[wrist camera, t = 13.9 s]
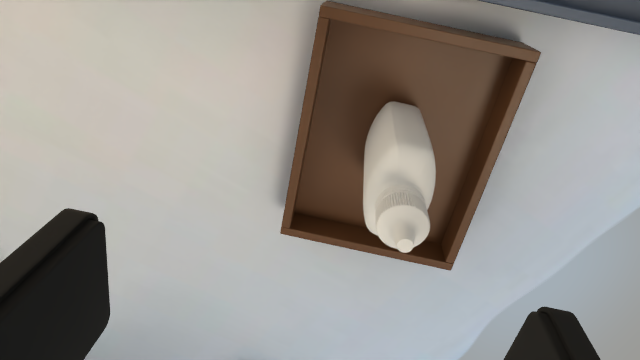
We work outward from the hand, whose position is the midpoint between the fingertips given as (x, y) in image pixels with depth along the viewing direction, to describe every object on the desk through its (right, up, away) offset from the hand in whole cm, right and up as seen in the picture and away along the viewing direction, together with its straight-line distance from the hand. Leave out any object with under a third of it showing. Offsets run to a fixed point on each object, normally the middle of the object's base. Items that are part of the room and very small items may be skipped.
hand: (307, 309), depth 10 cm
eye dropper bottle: (+5, +6, +20) cm, 21 cm away
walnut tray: (+5, +6, +20) cm, 22 cm away
